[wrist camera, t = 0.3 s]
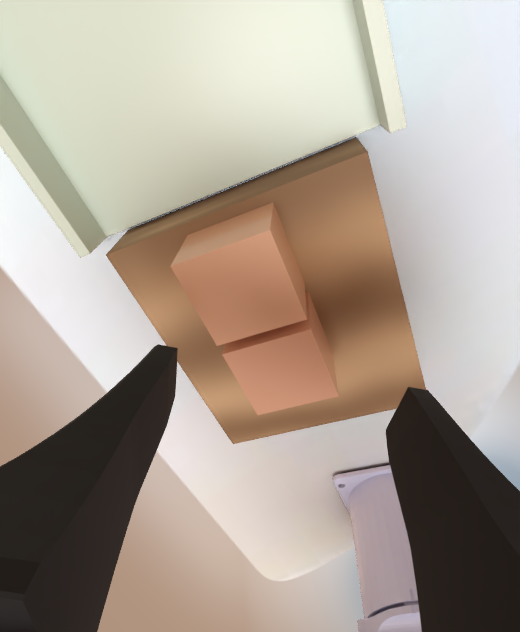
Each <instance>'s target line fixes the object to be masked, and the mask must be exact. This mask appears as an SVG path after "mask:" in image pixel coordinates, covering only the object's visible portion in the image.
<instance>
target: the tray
mask: <svg viewBox="0 0 520 632" xmlns="http://www.w3.org/2000/svg"><path fill="white" fill-rule="evenodd" d="M379 125H381V126H382V127H383V128H384V129H386V130H387V131H388V132H389V133H392V132H395V131H397V130H400V129H402V128H405V127H407V126H406V121H405V116H404V110H403V105H402V100H401V95H400V89H399V84H398V79H397V73H396V68H395V63H394V58H393V52H392V47H391V42H390V36H389V31H388V26H387V21H386V15H385V10H384V5H383V0H0V146H1V148H2V149H3V151H4V152H5V153H6V155H7V156H8V158H9V159H10V160H11V162H12V163H13V165H14V166H15V167H16V169H17V170H18V172H19V173H20V174H21V176H22V177H23V179H24V180H25V181H26V183H27V184H28V186H29V187H30V188H31V190H32V191H33V193H34V194H35V195H36V197H37V198H38V200H39V201H40V202H41V204H42V205H43V207H44V208H45V209H46V211H47V212H48V214H49V215H50V216H51V218H52V219H53V221H54V222H55V223H56V225H57V226H58V228H59V229H60V230H61V232H62V233H63V235H64V236H65V237H66V239H67V240H68V242H69V243H70V244H71V246H72V247H73V249H74V250H75V251H76V253H77V254H78V256H79V257H80V258H81V257H83V256H86V255H88V254H90V253H91V252H92V251H93V250H94V249H95V248H96V247H97V246H98V245H99V244H100V243H101V242H102V241H103V240H104V239H105V238H106V237H108V236H110V235H113V234H115V233H118V232H120V231H123V230H125V229H127V228H130V227H132V226H135V225H137V224H140V223H142V222H145V221H147V220H149V219H152V218H154V217H157V216H159V215H162V214H164V213H167V212H169V211H171V210H174V209H176V208H179V207H181V206H184V205H186V204H189V203H191V202H193V201H196V200H198V199H201V198H203V197H206V196H208V195H211V194H213V193H215V192H218V191H220V190H223V189H225V188H228V187H230V186H233V185H235V184H237V183H240V182H242V181H245V180H247V179H250V178H252V177H255V176H257V175H259V174H262V173H264V172H267V171H269V170H272V169H274V168H277V167H279V166H281V165H284V164H286V163H289V162H291V161H294V160H296V159H299V158H301V157H303V156H306V155H308V154H311V153H313V152H316V151H318V150H321V149H323V148H325V147H328V146H330V145H333V144H335V143H338V142H340V141H343V140H345V139H347V138H350V137H352V136H355V135H357V134H360V133H362V132H365V131H367V130H369V129H372V128H374V127H377V126H379Z"/></svg>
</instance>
